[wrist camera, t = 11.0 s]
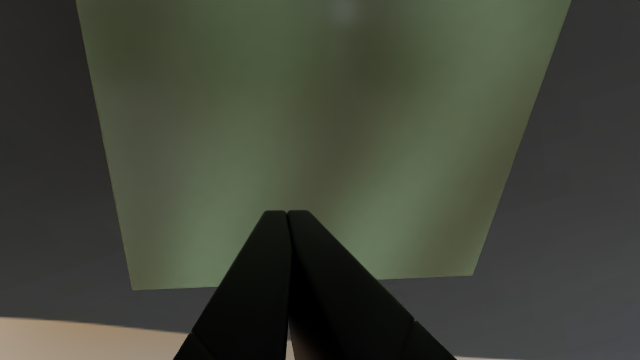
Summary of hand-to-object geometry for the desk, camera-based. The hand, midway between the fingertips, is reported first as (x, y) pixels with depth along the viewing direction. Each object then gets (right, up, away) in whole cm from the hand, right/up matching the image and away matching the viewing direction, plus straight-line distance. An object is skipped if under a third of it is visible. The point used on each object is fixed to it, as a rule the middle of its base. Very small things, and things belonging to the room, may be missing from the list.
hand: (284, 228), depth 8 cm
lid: (+1, +3, +5) cm, 6 cm away
